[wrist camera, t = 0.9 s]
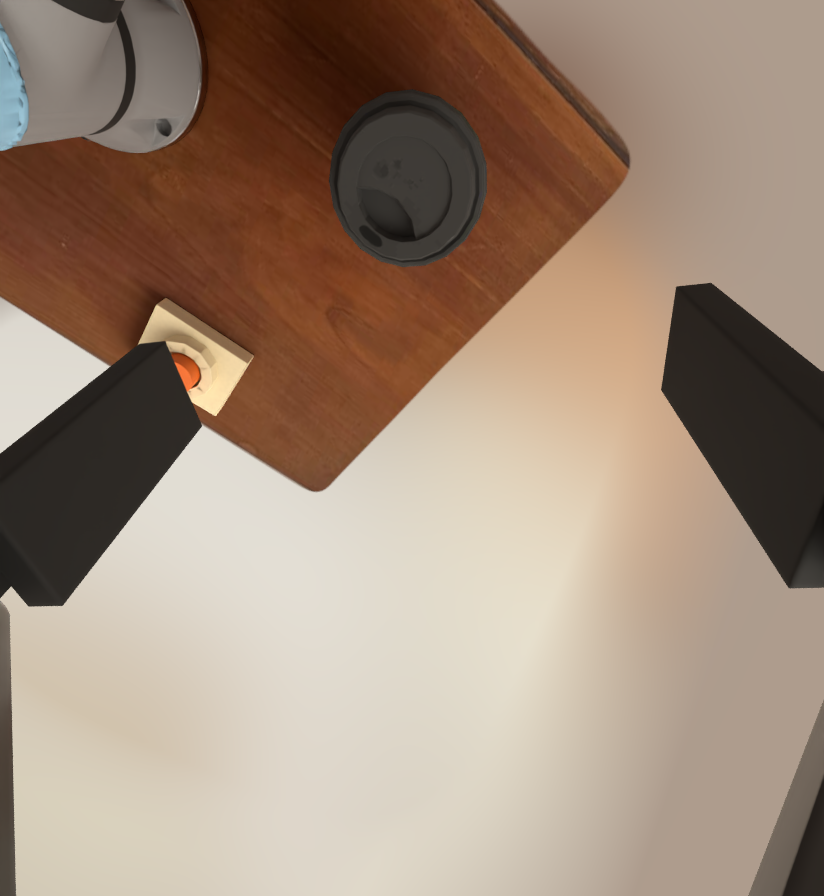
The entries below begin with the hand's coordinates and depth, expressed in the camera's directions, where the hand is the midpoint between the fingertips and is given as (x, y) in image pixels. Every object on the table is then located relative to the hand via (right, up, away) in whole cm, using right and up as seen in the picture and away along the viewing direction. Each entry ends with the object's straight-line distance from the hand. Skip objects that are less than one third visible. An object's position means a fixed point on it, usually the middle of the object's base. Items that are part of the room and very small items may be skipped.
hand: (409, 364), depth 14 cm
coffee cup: (+1, +24, +34) cm, 41 cm away
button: (-26, +7, +44) cm, 51 cm away
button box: (-25, +9, +47) cm, 54 cm away
